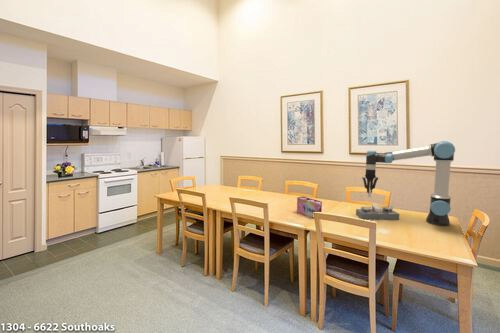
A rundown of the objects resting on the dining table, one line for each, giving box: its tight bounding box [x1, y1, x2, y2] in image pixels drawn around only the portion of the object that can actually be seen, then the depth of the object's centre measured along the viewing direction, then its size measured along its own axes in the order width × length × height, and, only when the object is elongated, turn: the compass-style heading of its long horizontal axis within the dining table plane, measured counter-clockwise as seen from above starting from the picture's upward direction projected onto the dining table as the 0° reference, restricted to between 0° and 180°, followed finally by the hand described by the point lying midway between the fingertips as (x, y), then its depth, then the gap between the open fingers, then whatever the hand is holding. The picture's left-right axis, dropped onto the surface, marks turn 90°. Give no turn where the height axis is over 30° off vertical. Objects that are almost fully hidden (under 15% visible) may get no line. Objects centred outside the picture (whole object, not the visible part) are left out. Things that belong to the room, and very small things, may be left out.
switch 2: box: [381, 205, 394, 210], centre depth 220 cm, size 5×9×2 cm, turn 179°
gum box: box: [296, 196, 323, 219], centre depth 226 cm, size 24×8×14 cm, turn 33°
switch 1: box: [371, 203, 382, 212], centre depth 220 cm, size 5×9×2 cm, turn 179°
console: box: [355, 206, 400, 221], centre depth 219 cm, size 30×14×8 cm, turn 89°
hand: (369, 196), depth 220 cm, fingers closed
